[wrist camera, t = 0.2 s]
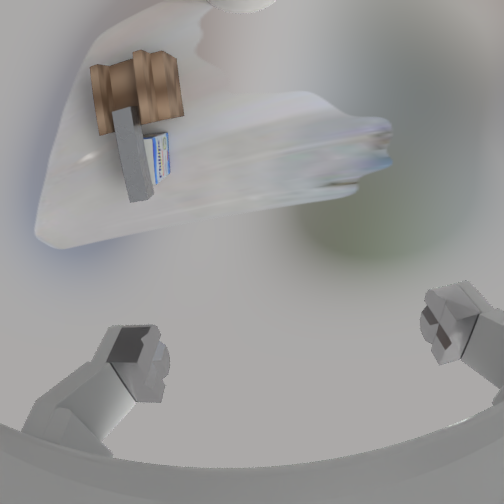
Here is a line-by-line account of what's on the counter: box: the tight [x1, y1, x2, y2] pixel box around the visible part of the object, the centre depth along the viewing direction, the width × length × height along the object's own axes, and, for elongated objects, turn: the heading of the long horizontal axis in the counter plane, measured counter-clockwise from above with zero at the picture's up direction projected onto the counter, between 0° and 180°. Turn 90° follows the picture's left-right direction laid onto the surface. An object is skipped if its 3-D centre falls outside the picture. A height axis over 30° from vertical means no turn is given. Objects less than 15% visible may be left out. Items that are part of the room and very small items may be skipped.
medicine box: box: [143, 133, 170, 185], centre depth 47 cm, size 8×4×9 cm, turn 0°
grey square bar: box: [112, 106, 154, 203], centre depth 40 cm, size 14×3×3 cm, turn 6°
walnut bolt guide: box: [90, 50, 184, 136], centre depth 40 cm, size 11×12×13 cm
